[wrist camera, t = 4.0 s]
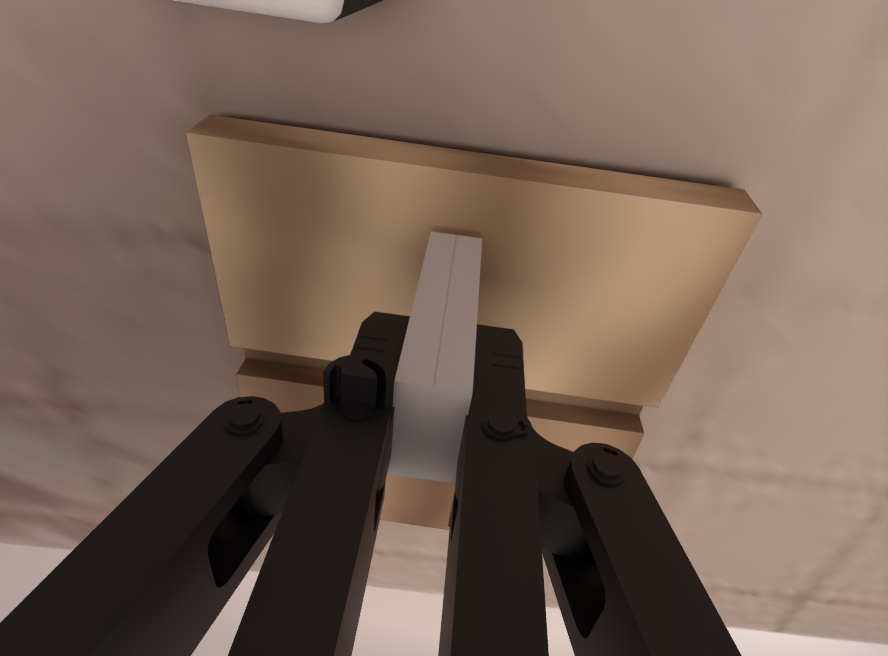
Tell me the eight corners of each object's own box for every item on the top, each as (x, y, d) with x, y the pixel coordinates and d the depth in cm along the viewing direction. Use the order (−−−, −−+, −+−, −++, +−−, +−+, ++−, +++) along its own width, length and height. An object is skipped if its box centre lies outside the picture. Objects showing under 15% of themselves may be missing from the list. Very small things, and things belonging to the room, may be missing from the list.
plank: (245, 320, 21) (230, 345, 20) (209, 114, 16) (186, 132, 15) (649, 379, 21) (657, 407, 20) (744, 189, 16) (762, 213, 15)
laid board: (266, 476, 27) (255, 501, 26) (248, 329, 22) (232, 352, 20) (585, 523, 27) (589, 550, 26) (645, 386, 21) (653, 413, 20)
